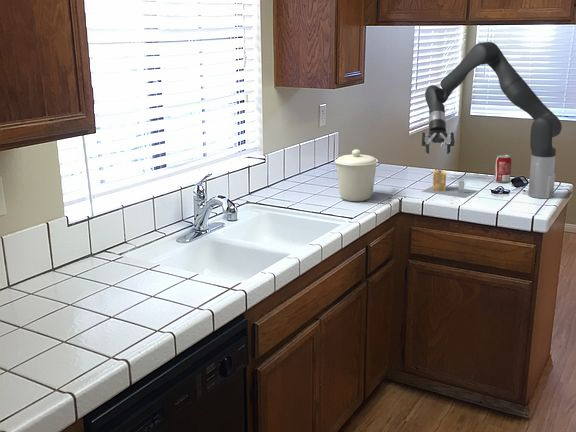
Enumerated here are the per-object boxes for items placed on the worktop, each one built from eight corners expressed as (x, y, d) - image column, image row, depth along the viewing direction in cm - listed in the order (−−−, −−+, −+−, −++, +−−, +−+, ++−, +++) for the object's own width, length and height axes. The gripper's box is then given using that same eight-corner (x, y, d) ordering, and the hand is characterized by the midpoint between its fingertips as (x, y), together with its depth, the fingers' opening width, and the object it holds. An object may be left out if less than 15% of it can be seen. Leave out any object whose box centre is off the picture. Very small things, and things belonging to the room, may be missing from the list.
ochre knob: (444, 188, 276) (445, 169, 274) (445, 191, 272) (446, 172, 269) (432, 188, 277) (433, 169, 275) (433, 190, 272) (434, 172, 270)
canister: (363, 206, 257) (363, 155, 251) (326, 200, 268) (325, 151, 262) (385, 196, 271) (386, 147, 265) (349, 191, 282) (349, 144, 276)
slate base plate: (478, 194, 271) (478, 190, 270) (465, 201, 260) (465, 197, 260) (435, 188, 283) (435, 184, 283) (420, 194, 272) (420, 191, 272)
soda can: (511, 183, 288) (513, 157, 284) (496, 183, 288) (498, 157, 285) (507, 179, 294) (509, 154, 291) (492, 180, 294) (494, 154, 291)
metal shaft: (463, 192, 269) (463, 180, 267) (463, 193, 267) (464, 181, 266) (458, 192, 269) (458, 180, 268) (458, 193, 268) (459, 181, 266)
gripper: (421, 118, 287) (422, 148, 279) (454, 118, 285) (455, 148, 277) (420, 128, 293) (421, 157, 286) (452, 128, 291) (453, 157, 284)
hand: (438, 152), depth 282 cm, fingers open, 8 cm apart
